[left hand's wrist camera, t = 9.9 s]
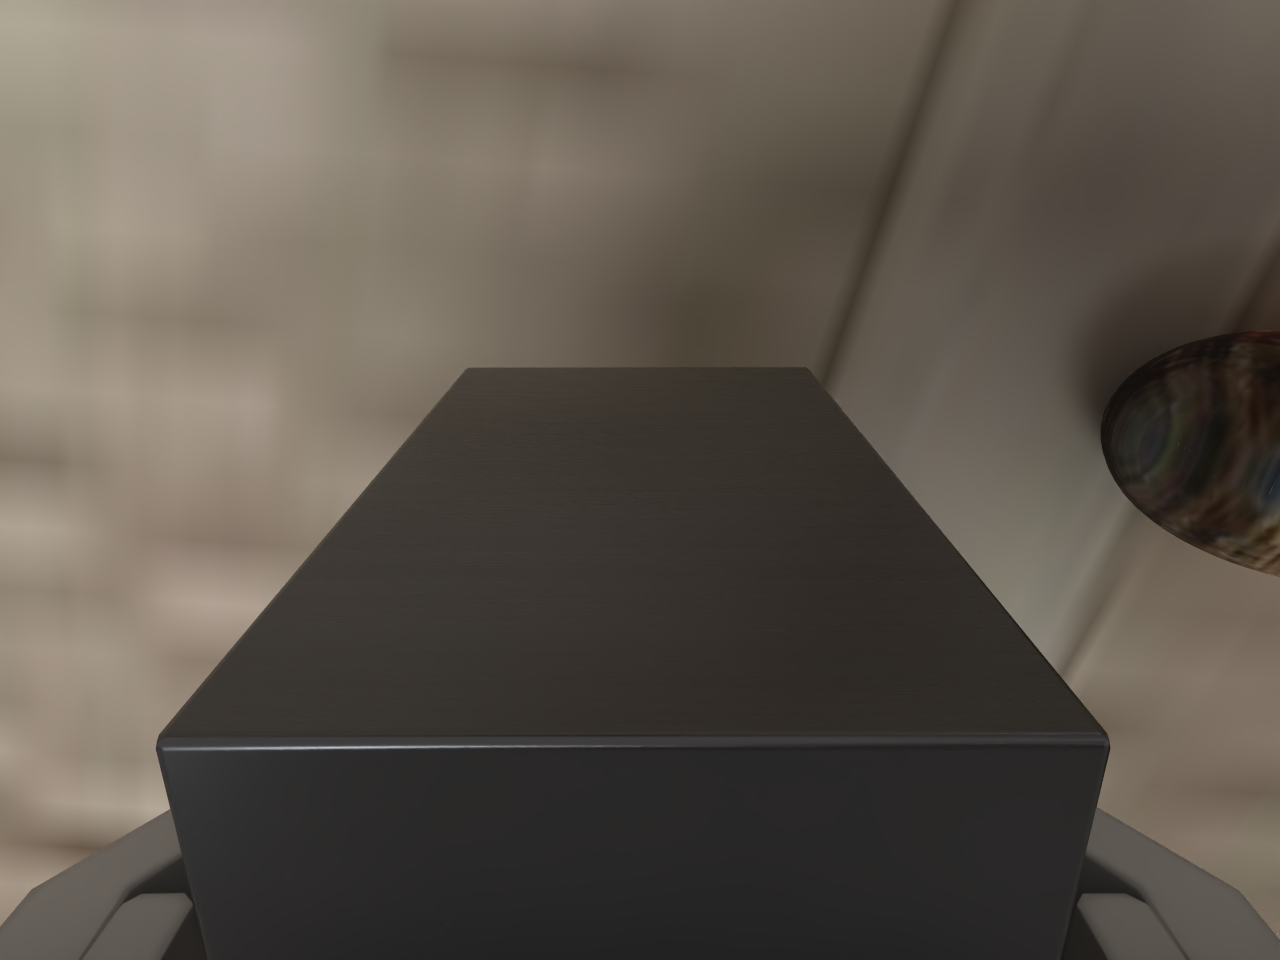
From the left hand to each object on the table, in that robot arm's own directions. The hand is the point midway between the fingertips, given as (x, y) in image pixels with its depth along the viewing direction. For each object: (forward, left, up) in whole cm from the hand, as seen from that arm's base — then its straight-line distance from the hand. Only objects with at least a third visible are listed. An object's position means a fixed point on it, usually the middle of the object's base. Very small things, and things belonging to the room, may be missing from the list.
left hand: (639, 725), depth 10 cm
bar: (+3, +8, -3) cm, 9 cm away
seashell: (-15, +6, -14) cm, 21 cm away
